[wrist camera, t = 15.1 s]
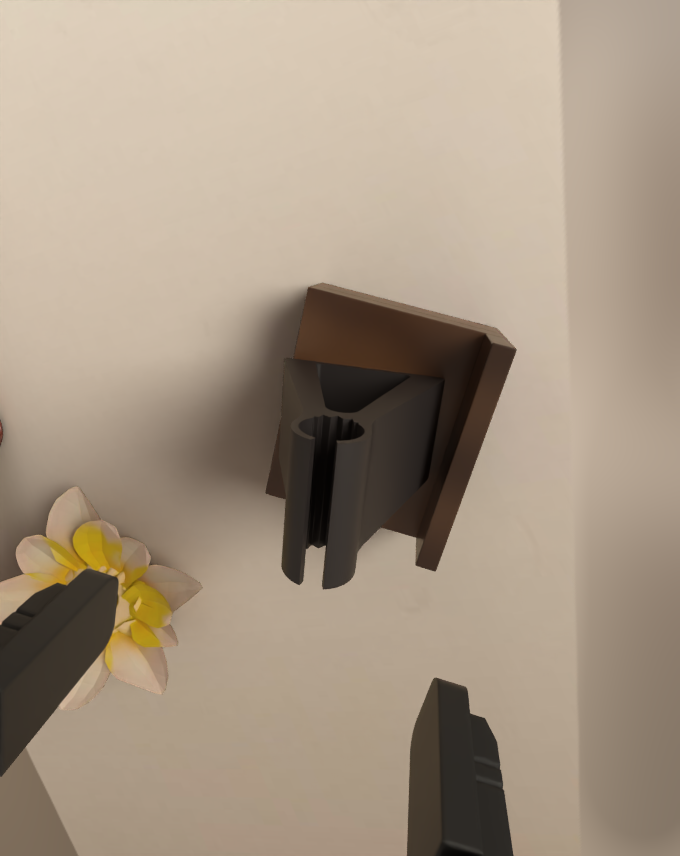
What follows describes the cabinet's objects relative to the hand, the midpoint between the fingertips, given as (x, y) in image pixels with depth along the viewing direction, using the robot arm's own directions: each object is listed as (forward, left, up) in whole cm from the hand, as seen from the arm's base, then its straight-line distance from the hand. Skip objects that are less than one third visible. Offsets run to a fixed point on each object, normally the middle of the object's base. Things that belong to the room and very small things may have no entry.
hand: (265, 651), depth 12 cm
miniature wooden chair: (0, +1, -22) cm, 22 cm away
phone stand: (0, 0, -19) cm, 19 cm away
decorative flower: (+19, -14, -23) cm, 33 cm away
